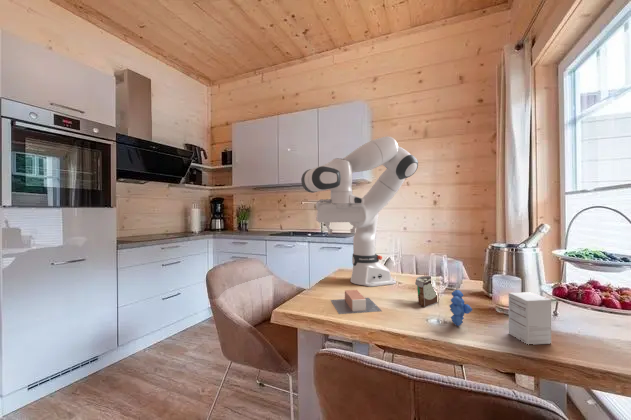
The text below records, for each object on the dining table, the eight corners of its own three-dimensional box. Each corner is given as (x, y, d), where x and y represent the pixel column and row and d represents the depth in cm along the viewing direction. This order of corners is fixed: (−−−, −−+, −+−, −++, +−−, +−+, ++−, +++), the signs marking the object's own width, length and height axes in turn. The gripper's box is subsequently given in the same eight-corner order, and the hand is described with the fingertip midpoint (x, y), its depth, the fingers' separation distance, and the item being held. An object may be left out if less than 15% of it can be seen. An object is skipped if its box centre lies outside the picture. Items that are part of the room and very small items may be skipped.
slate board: (368, 300, 118) (368, 297, 118) (382, 313, 103) (382, 311, 103) (330, 302, 116) (330, 299, 115) (339, 316, 101) (338, 314, 101)
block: (356, 289, 116) (365, 299, 104) (356, 299, 116) (366, 310, 104) (344, 290, 115) (352, 300, 103) (344, 300, 115) (352, 311, 103)
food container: (427, 297, 120) (427, 274, 120) (441, 301, 115) (441, 277, 115) (408, 303, 113) (408, 278, 113) (422, 308, 108) (422, 282, 108)
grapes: (471, 335, 85) (471, 296, 85) (446, 330, 89) (446, 292, 89) (473, 321, 95) (473, 286, 95) (451, 317, 99) (451, 283, 99)
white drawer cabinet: (531, 332, 87) (531, 291, 87) (552, 344, 80) (552, 299, 79) (507, 333, 87) (507, 292, 87) (526, 345, 79) (526, 300, 79)
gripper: (317, 199, 111) (317, 234, 111) (367, 199, 114) (367, 233, 114) (314, 199, 117) (314, 233, 117) (362, 199, 120) (362, 232, 121)
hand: (341, 233), depth 116 cm, fingers open, 8 cm apart
